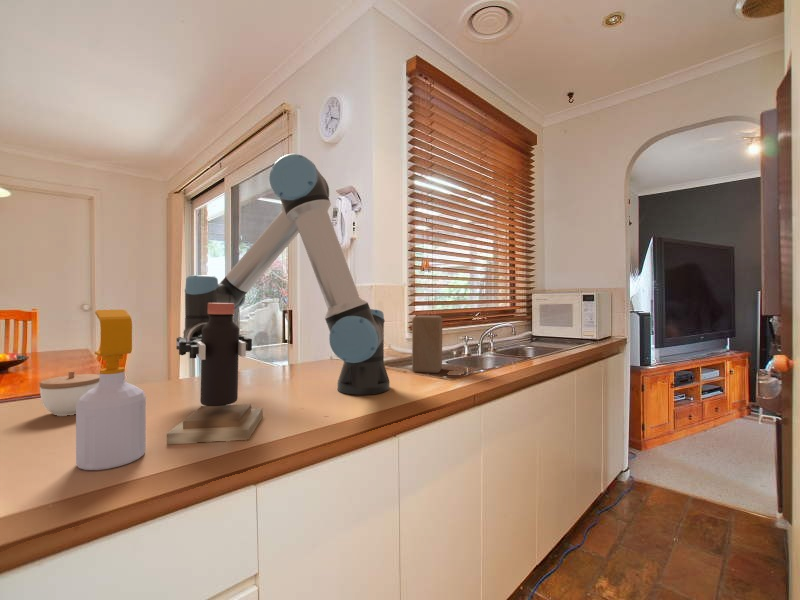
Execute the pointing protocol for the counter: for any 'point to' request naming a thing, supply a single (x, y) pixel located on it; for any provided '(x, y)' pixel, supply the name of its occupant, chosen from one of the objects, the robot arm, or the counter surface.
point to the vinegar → (220, 357)
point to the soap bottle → (111, 404)
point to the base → (215, 432)
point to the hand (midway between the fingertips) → (224, 351)
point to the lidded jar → (66, 392)
